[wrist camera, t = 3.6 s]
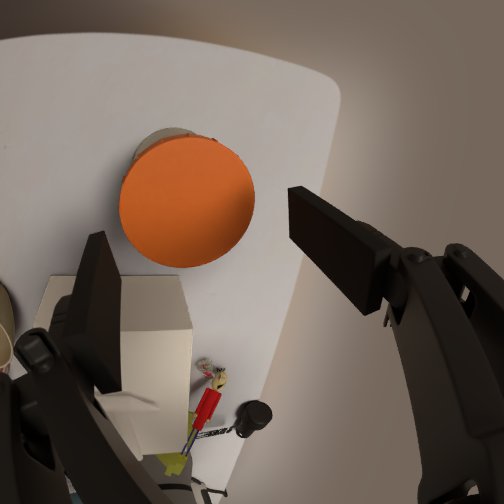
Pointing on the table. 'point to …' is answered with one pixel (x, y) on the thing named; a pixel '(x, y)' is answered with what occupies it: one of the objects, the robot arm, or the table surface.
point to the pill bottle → (5, 369)
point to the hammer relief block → (144, 361)
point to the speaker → (200, 493)
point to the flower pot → (6, 328)
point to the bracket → (177, 454)
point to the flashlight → (248, 420)
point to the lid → (186, 201)
